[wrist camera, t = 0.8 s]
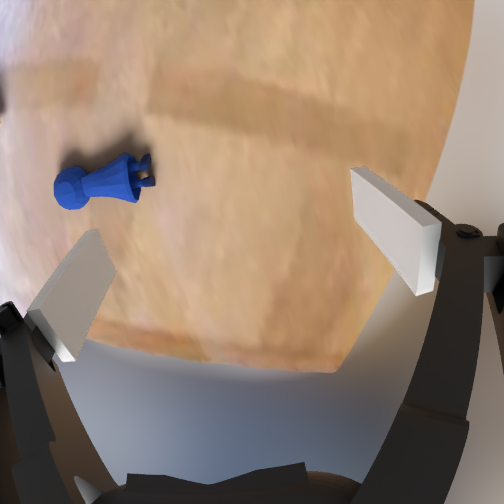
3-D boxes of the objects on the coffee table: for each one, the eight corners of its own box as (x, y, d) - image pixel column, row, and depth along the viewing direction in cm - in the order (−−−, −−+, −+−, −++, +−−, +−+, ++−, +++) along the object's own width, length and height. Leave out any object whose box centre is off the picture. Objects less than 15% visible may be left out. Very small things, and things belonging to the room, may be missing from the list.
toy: (149, 144, 38) (55, 167, 37) (138, 152, 33) (35, 178, 32) (158, 191, 41) (67, 209, 41) (149, 206, 36) (49, 226, 35)
